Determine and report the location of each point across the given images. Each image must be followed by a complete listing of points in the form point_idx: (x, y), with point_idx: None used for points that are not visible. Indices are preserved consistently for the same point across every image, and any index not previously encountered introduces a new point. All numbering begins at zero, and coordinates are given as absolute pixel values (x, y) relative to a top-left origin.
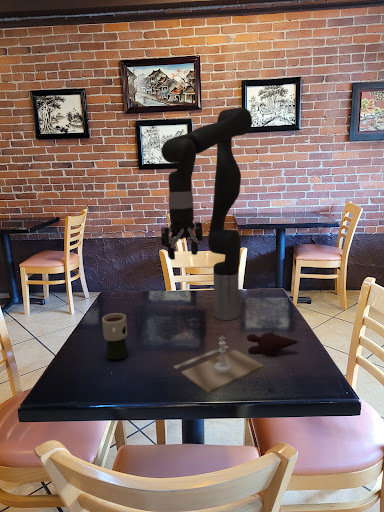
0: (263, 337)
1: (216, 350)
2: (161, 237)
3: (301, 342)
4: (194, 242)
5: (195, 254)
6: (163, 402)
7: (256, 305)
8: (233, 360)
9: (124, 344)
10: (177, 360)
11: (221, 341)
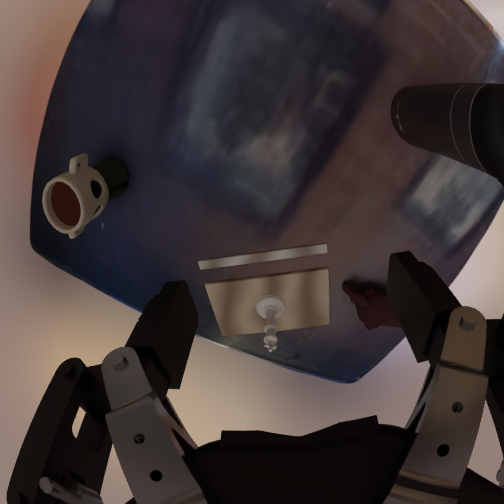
0: (367, 314)
1: (297, 252)
2: (32, 422)
3: None
4: (431, 361)
5: (390, 296)
6: None
7: None
8: (300, 296)
9: (111, 195)
10: (212, 243)
11: (268, 342)
